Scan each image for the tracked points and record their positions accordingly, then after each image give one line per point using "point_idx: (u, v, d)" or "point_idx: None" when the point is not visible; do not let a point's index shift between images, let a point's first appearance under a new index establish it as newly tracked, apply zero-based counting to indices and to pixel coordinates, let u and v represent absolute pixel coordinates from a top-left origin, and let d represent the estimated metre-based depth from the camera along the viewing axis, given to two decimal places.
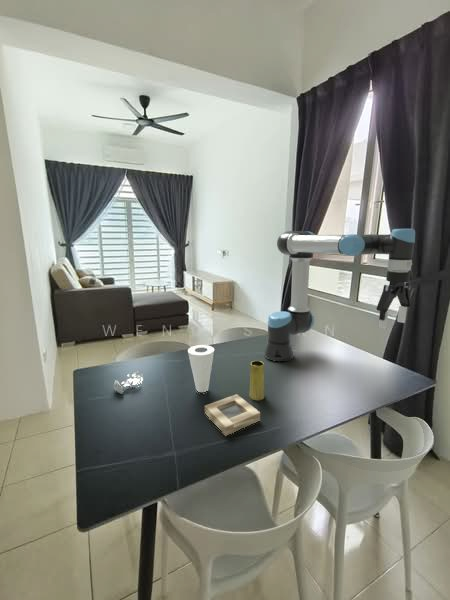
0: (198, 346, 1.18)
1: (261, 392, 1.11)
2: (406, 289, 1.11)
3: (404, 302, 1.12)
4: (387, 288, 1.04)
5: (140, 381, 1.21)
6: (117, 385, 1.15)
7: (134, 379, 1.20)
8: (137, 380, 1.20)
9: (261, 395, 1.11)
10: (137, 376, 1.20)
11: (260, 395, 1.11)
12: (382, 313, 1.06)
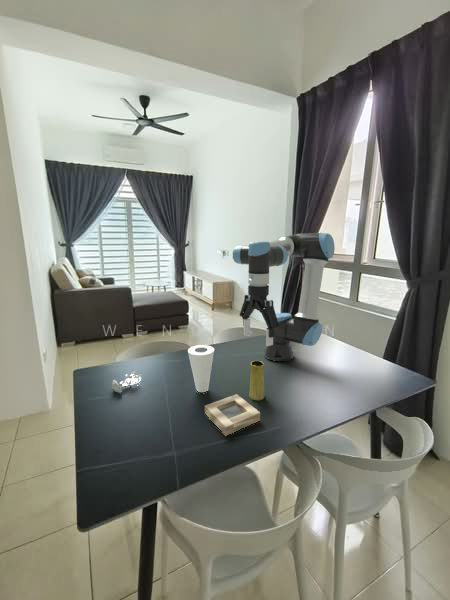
0: (198, 346, 1.18)
1: (261, 392, 1.11)
2: None
3: None
4: None
5: (138, 381, 1.21)
6: (115, 385, 1.15)
7: (132, 379, 1.20)
8: (135, 380, 1.20)
9: (261, 395, 1.11)
10: (135, 376, 1.20)
11: (260, 395, 1.11)
12: None
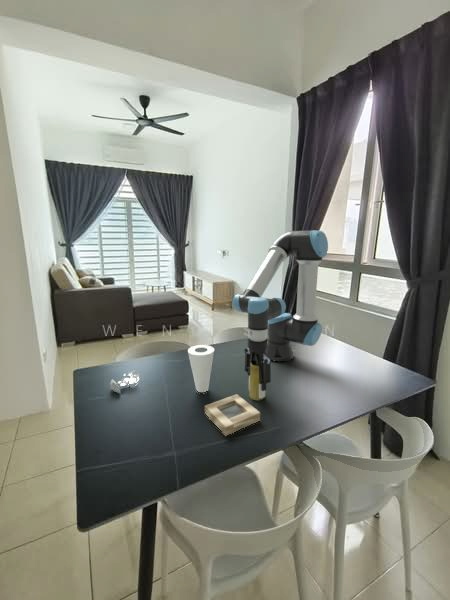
0: (198, 346, 1.18)
1: None
2: None
3: None
4: None
5: (136, 380, 1.21)
6: (114, 384, 1.15)
7: (130, 378, 1.20)
8: (133, 379, 1.21)
9: None
10: (133, 375, 1.20)
11: None
12: None
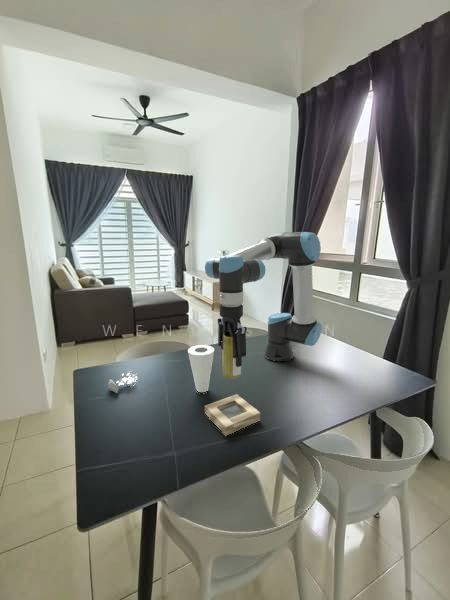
0: (198, 346, 1.18)
1: None
2: None
3: None
4: None
5: (135, 380, 1.22)
6: (112, 384, 1.16)
7: (129, 378, 1.20)
8: (132, 379, 1.21)
9: None
10: (132, 375, 1.21)
11: None
12: None
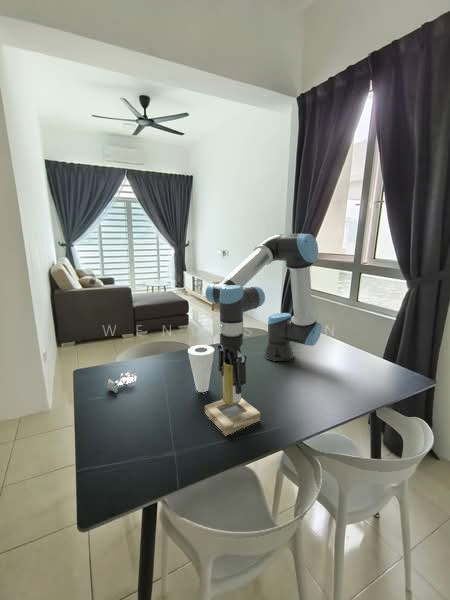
0: (198, 346, 1.18)
1: None
2: None
3: None
4: None
5: (134, 380, 1.22)
6: (111, 384, 1.16)
7: (128, 378, 1.21)
8: (131, 379, 1.21)
9: None
10: (131, 375, 1.21)
11: None
12: None
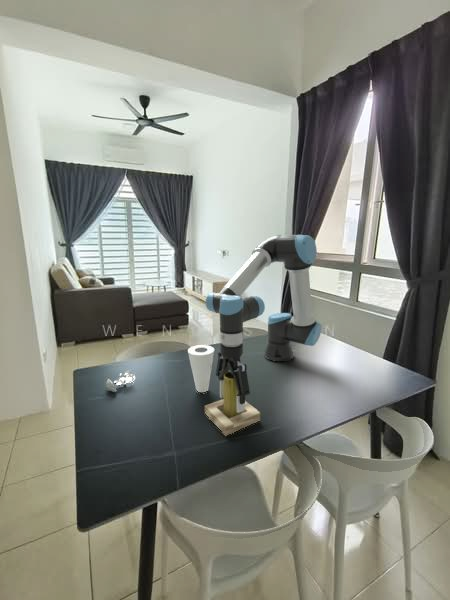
0: (198, 346, 1.18)
1: (236, 408, 0.97)
2: None
3: None
4: None
5: (133, 379, 1.22)
6: (110, 384, 1.16)
7: (127, 378, 1.21)
8: (130, 379, 1.21)
9: (236, 411, 0.97)
10: (130, 375, 1.21)
11: (235, 411, 0.97)
12: None
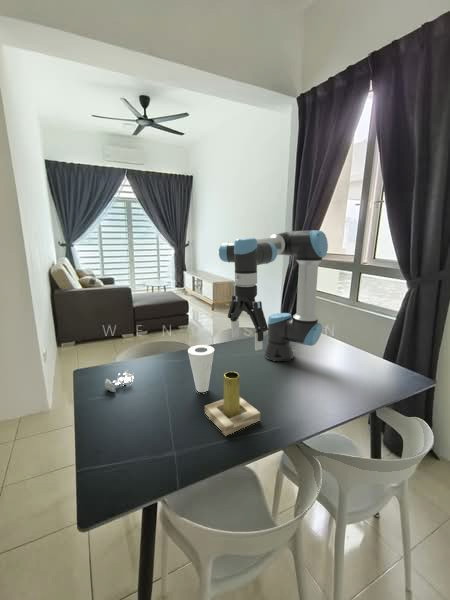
0: (198, 346, 1.18)
1: (236, 408, 0.97)
2: None
3: None
4: None
5: (131, 379, 1.22)
6: (108, 384, 1.16)
7: (125, 377, 1.21)
8: (128, 378, 1.21)
9: (236, 411, 0.97)
10: (128, 374, 1.21)
11: (235, 411, 0.97)
12: None
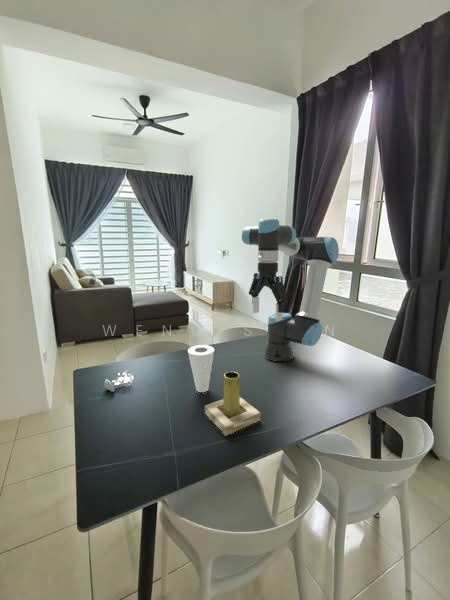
0: (198, 346, 1.18)
1: (236, 408, 0.97)
2: None
3: None
4: None
5: (131, 379, 1.22)
6: (108, 384, 1.16)
7: (125, 377, 1.21)
8: (128, 378, 1.21)
9: (236, 411, 0.97)
10: (128, 374, 1.21)
11: (235, 411, 0.97)
12: None
